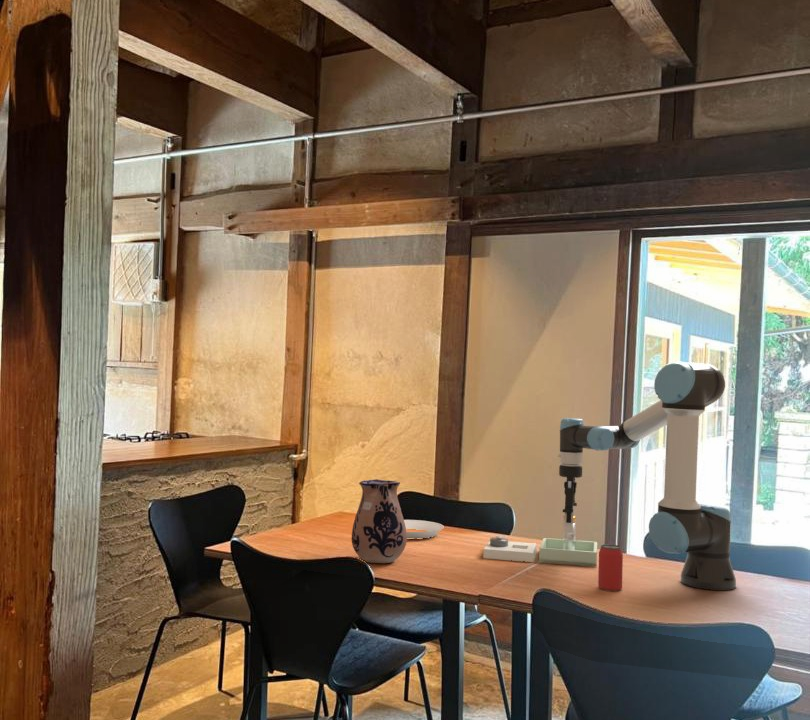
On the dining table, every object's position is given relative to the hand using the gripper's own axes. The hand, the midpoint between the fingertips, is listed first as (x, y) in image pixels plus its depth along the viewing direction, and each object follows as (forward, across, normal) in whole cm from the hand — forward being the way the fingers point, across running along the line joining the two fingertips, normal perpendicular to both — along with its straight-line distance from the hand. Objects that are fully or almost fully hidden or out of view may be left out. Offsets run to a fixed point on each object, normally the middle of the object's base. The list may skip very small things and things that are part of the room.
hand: (569, 529), depth 262 cm
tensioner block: (+10, +2, -19) cm, 21 cm away
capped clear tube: (+9, 0, 0) cm, 9 cm away
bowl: (+10, -20, -59) cm, 63 cm away
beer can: (+10, +36, +13) cm, 40 cm away
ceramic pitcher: (+10, +25, -59) cm, 65 cm away
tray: (+10, 0, 0) cm, 10 cm away
